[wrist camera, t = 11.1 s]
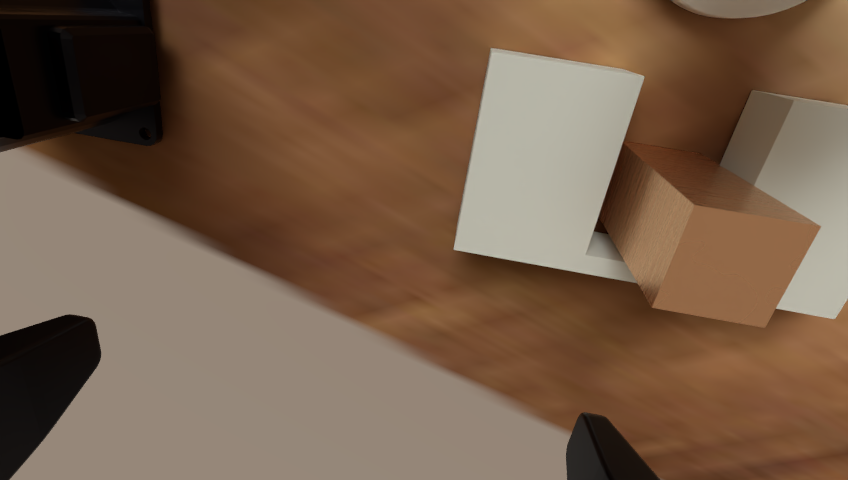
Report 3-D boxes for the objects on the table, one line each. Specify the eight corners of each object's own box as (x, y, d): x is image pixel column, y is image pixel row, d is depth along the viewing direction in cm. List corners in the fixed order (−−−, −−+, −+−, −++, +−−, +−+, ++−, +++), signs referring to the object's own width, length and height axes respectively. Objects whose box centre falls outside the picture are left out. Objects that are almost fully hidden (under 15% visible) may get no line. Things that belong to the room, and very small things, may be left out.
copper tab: (596, 213, 19) (651, 307, 13) (620, 140, 18) (694, 204, 11) (671, 225, 19) (765, 327, 12) (700, 153, 18) (821, 226, 11)
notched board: (457, 223, 20) (453, 249, 18) (490, 47, 17) (491, 51, 15) (793, 284, 19) (834, 319, 17) (891, 112, 16) (957, 127, 14)
